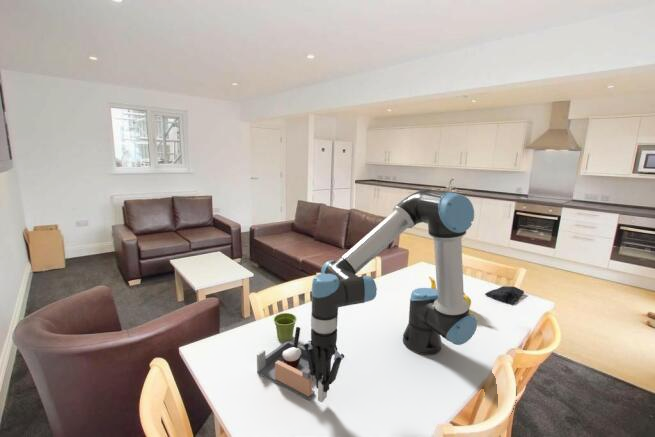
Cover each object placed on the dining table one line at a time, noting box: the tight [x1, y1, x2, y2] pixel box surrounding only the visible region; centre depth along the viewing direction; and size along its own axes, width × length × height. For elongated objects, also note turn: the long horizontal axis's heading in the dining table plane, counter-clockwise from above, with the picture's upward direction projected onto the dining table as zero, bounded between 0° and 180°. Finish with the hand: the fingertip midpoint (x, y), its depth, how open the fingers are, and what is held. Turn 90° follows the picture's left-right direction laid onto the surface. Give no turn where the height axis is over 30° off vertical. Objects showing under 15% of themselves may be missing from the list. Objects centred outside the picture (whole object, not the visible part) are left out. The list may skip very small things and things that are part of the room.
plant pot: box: [273, 312, 298, 343], centre depth 128 cm, size 9×9×9 cm
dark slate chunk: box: [484, 285, 525, 306], centre depth 175 cm, size 15×22×5 cm
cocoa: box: [282, 326, 301, 368], centre depth 110 cm, size 10×6×12 cm, turn 134°
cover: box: [275, 360, 313, 397], centre depth 100 cm, size 14×2×8 cm, turn 57°
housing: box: [256, 340, 316, 401], centre depth 108 cm, size 22×16×7 cm
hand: (322, 398), depth 94 cm, fingers closed
